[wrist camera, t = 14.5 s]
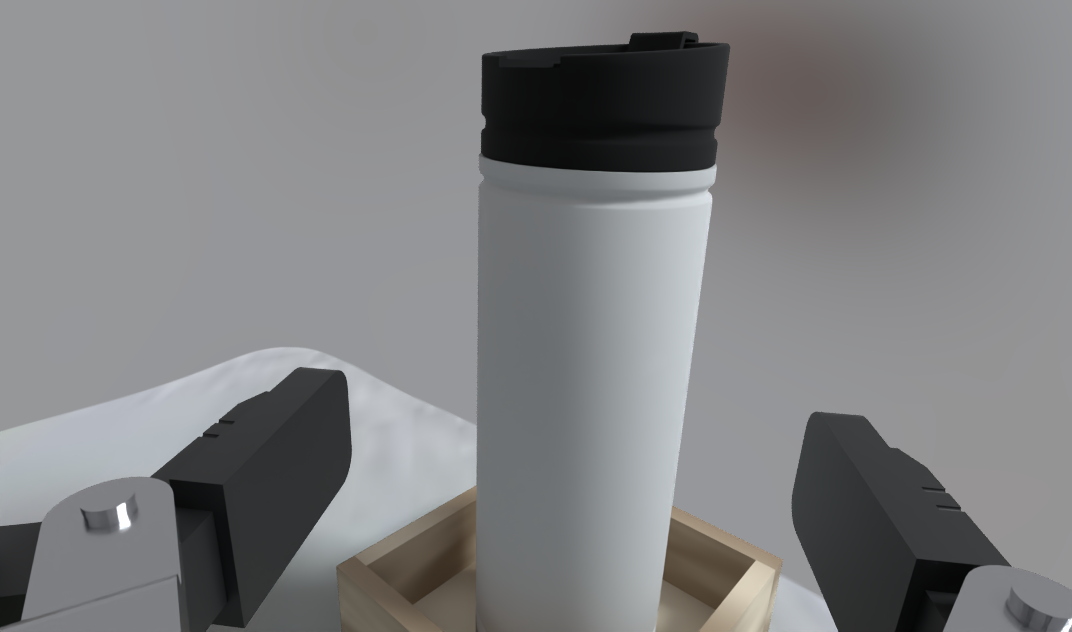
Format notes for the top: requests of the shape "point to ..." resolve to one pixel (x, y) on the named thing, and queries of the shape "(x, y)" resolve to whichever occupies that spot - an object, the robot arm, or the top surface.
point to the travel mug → (587, 322)
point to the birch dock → (450, 577)
